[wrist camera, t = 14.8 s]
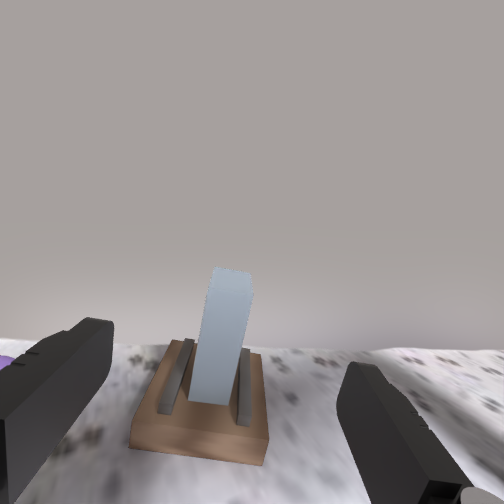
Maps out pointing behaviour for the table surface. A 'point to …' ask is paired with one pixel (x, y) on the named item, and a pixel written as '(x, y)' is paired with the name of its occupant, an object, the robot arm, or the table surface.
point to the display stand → (203, 412)
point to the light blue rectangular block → (221, 336)
